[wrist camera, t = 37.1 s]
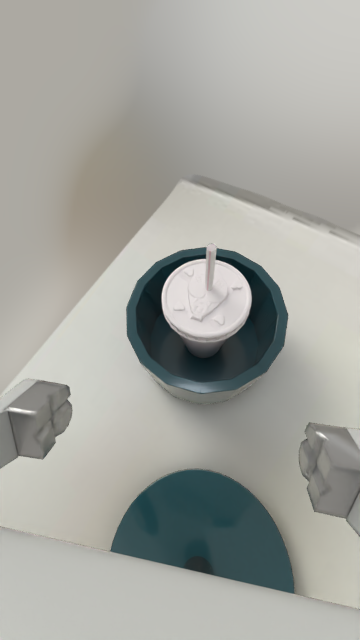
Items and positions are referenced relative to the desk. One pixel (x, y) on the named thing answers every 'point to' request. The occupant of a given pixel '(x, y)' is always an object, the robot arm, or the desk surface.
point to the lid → (206, 530)
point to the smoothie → (206, 303)
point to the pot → (234, 355)
